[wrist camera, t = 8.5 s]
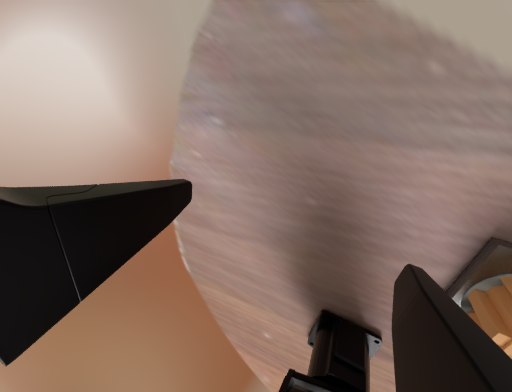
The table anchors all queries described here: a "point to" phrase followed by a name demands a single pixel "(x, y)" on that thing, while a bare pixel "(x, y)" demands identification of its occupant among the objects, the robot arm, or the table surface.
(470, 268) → the carrier
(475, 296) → the gear
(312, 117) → the table surface
